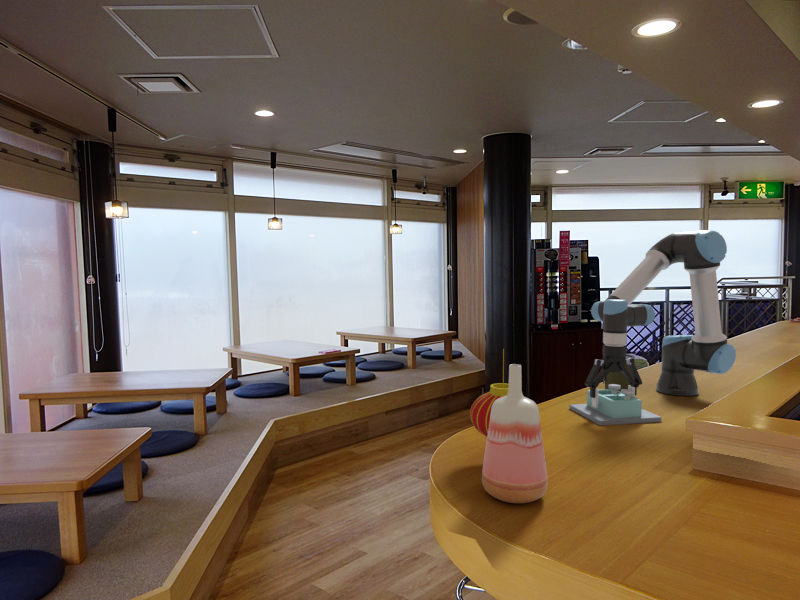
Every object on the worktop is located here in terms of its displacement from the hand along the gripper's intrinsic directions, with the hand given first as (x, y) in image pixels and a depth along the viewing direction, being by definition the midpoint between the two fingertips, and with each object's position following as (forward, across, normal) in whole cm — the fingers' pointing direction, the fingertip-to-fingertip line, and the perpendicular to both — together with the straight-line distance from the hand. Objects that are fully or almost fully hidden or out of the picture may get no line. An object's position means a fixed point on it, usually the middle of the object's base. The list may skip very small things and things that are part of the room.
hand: (613, 406), depth 180 cm
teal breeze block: (+2, 0, 0) cm, 2 cm away
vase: (+3, +58, +53) cm, 78 cm away
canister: (+3, -12, -16) cm, 20 cm away
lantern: (+3, +53, +33) cm, 62 cm away
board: (+3, 0, 0) cm, 3 cm away
